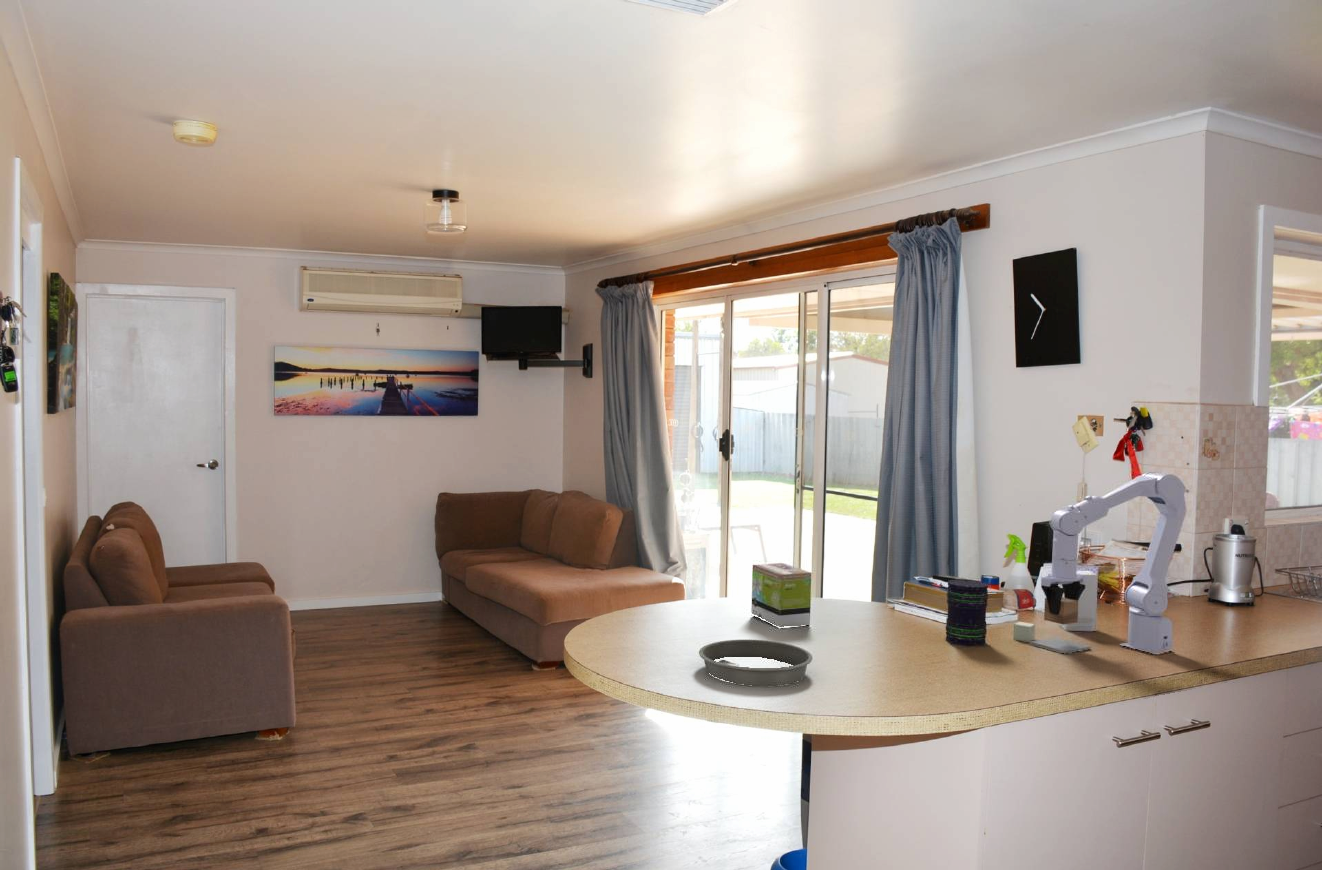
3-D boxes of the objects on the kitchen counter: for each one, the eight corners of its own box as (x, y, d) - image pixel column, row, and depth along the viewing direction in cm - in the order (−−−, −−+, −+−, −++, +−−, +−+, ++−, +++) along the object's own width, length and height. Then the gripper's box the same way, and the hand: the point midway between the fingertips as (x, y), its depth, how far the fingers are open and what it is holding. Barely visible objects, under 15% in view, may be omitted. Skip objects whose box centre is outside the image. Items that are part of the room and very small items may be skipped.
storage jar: (988, 648, 233) (991, 587, 232) (947, 645, 235) (949, 585, 234) (983, 638, 243) (985, 580, 242) (943, 635, 244) (945, 578, 244)
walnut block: (1077, 622, 236) (1078, 600, 235) (1063, 624, 233) (1064, 602, 233) (1058, 618, 240) (1059, 596, 240) (1044, 619, 238) (1044, 598, 237)
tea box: (749, 617, 260) (751, 563, 259) (780, 614, 264) (782, 561, 263) (778, 629, 246) (780, 573, 246) (811, 627, 250) (813, 571, 250)
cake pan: (740, 652, 223) (740, 633, 223) (832, 673, 208) (833, 653, 208) (675, 673, 204) (676, 652, 204) (771, 698, 189) (772, 675, 189)
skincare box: (1088, 627, 259) (1090, 570, 259) (1097, 632, 253) (1099, 574, 252) (1056, 625, 260) (1059, 569, 260) (1064, 631, 254) (1067, 573, 253)
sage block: (1034, 639, 244) (1035, 624, 243) (1029, 642, 240) (1029, 626, 240) (1018, 636, 246) (1019, 621, 246) (1013, 639, 243) (1014, 624, 243)
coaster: (1090, 649, 234) (1090, 646, 234) (1064, 654, 229) (1064, 651, 229) (1055, 640, 243) (1055, 637, 243) (1029, 644, 238) (1029, 641, 238)
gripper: (1069, 554, 243) (1066, 607, 243) (1031, 557, 236) (1029, 612, 236) (1094, 559, 237) (1091, 612, 237) (1056, 562, 229) (1053, 618, 230)
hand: (1062, 612), depth 236 cm, fingers closed on walnut block, 5 cm apart
